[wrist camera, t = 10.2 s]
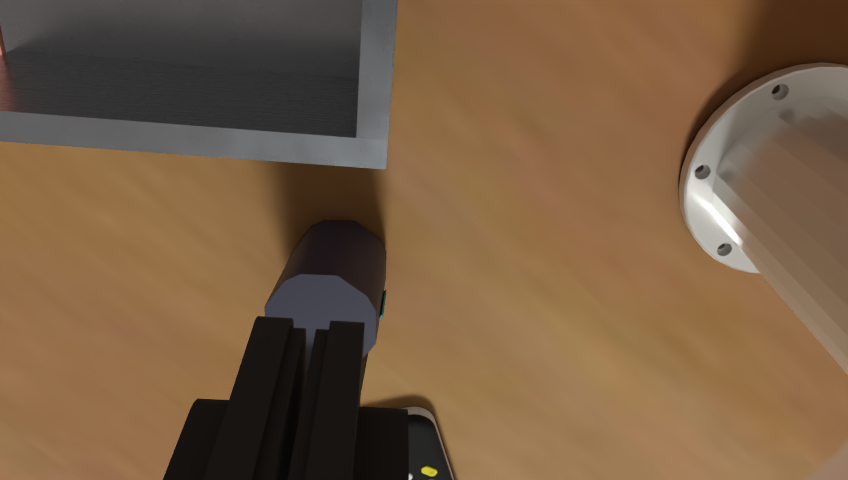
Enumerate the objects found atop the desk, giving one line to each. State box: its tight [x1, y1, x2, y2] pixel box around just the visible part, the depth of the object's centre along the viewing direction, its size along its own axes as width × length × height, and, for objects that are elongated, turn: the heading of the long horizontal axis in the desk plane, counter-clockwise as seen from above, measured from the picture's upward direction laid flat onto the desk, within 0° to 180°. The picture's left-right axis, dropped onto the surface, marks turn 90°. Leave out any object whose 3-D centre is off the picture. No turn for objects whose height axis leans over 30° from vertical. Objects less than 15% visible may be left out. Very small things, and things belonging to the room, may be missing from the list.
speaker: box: [265, 220, 386, 389], centre depth 37 cm, size 8×6×10 cm
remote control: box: [401, 406, 454, 480], centre depth 50 cm, size 6×13×2 cm, turn 14°
